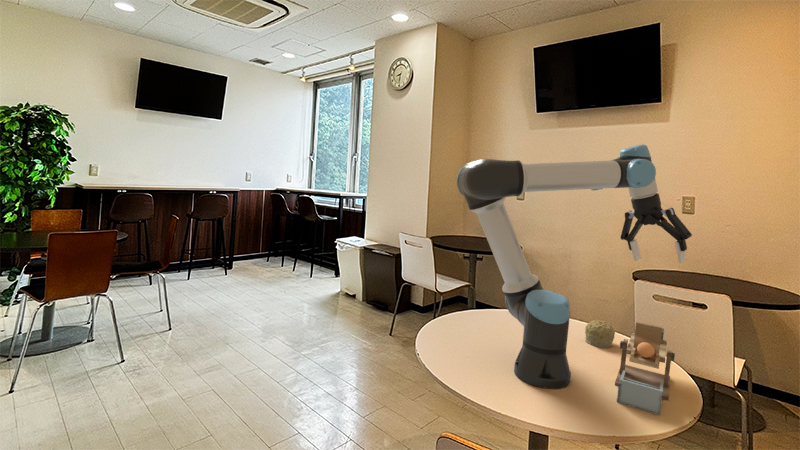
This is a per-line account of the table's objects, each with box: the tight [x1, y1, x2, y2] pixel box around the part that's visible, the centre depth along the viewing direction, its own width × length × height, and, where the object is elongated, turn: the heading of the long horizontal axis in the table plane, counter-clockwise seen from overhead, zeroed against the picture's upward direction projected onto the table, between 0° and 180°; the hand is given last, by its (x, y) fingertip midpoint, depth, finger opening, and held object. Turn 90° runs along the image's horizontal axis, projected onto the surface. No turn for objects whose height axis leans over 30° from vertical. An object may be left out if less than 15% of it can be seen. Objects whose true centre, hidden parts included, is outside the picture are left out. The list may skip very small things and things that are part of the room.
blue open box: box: [616, 370, 663, 416], centre depth 102 cm, size 9×9×6 cm
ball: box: [637, 342, 655, 358], centre depth 106 cm, size 4×4×4 cm
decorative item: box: [584, 319, 616, 349], centre depth 141 cm, size 10×10×10 cm
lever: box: [626, 321, 668, 370], centre depth 113 cm, size 22×9×9 cm, turn 145°
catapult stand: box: [614, 338, 676, 401], centre depth 112 cm, size 15×13×10 cm
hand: (659, 260), depth 126 cm, fingers open, 13 cm apart
